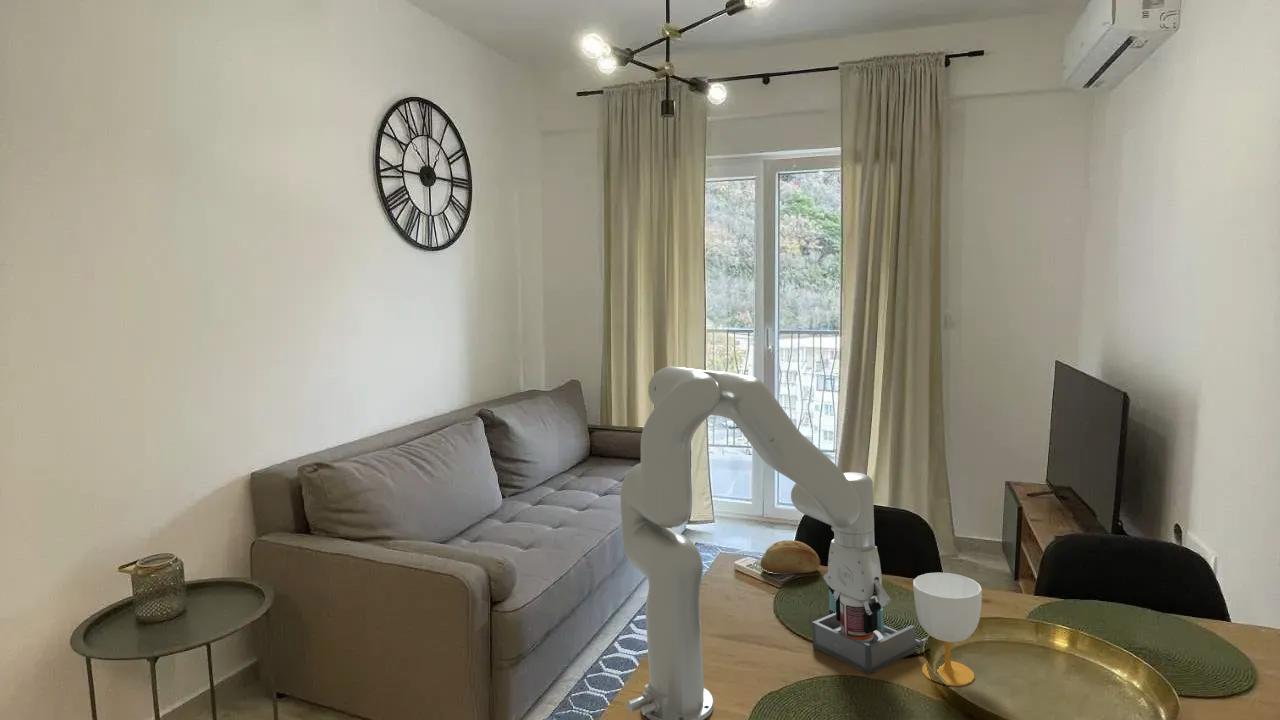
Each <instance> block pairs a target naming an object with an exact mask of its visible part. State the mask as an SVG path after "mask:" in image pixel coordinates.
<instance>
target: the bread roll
mask: <svg viewBox="0 0 1280 720" xmlns="http://www.w3.org/2000/svg"><path fill="white" fill-rule="evenodd" d="M761 567H762V568H763V569H765V570H767V571H769V572H773V573H783V574H784V573H785V574H799V573H800V574H803V573H805V574H806V573H813V572H816V571H817V570H818V569H819V568H820V567H821V559H820V557H819V555H818V553H817V552H816V550H814V549H813V548H812V547H810V546H809V545H808V544H806V543H805V542H802V541H798V540H793V539H792V540H791V539H788V540H787V539H786V540H780V541H777V542H774V543H772V544H771V545H770V546H768V548H766V550H765V552H764V553H763V555H762V556H761V559H760V568H761ZM762 568H761V569H762Z"/></svg>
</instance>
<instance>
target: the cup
mask: <svg viewBox="0 0 1280 720" xmlns="http://www.w3.org/2000/svg"><path fill="white" fill-rule="evenodd" d="M912 584H913V596H914V597H913V598H914V605H915V612H916V616H917V619H918V623H919V624H920V626H921V627H922V628H923V630H924V631H925V632H926V633H927V634H928V635H929V636H930V637H932V638H934V639H936V640H938V641H941V642H943V643H944V646H943V647H944V660H945V663H944V664H943V665H942V666H940V667H939V669H937V672H938V673H939V675H940V676H941V677H942V678H943V679H944V680H945V681H946V682H947V683H948V684H949V685H951V686H950V687H962V686H963V687H964V686H967V685H969V684H972V683H973V682H974V680H975V678H976V677H975V672H974V671H973V670H972V669H970V667H968V666H966V665H965V664H962V663H960V662H958V661H955V660H954V661H953V660H952V658H951V654H952V653H951V651H952V643H958V642H963V641H965V640H967V639H969V638H970V637H971V636H972V634H973V633H974V632H975V631H976V629H977V628H978V625H979V622H980V618H981V612H982V604H983V603H982V602H983V590H982V586H981V585H980V583H978V582H977V581H976V580H975V579H972V578H969V577H967V576H964V575H961V574H956V573H950V572H949V573H948V572H929V573H928V572H927V573H924V574H921V575H917V577H915V578H914V579H913V581H912ZM926 663H927V662H925V663H924V664H923V665H922V667H921V670H922V674H923V675H924V676H925V678H927V679H928V680H930V681H932V680H931V678H930V676H929V674H928V671H927V667H926Z"/></svg>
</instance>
